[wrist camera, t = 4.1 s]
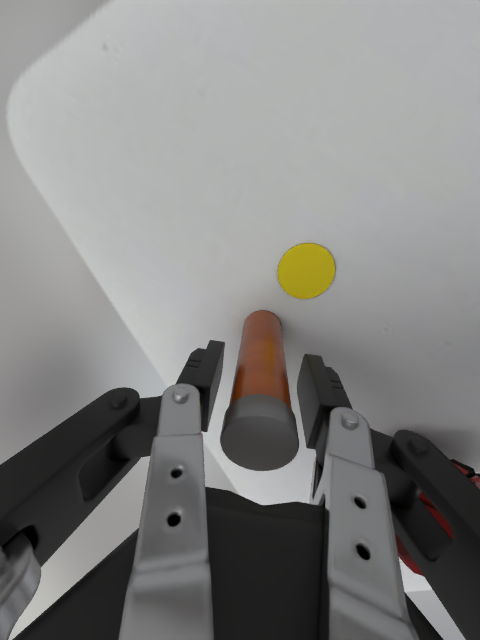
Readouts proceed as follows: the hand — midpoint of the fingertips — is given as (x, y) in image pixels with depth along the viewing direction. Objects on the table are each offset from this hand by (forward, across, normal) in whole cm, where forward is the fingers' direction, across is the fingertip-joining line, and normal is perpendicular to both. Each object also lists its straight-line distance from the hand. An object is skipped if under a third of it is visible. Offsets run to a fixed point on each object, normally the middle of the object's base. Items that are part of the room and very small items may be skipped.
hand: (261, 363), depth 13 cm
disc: (+4, -2, -4) cm, 6 cm away
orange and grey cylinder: (+4, 0, 0) cm, 4 cm away
